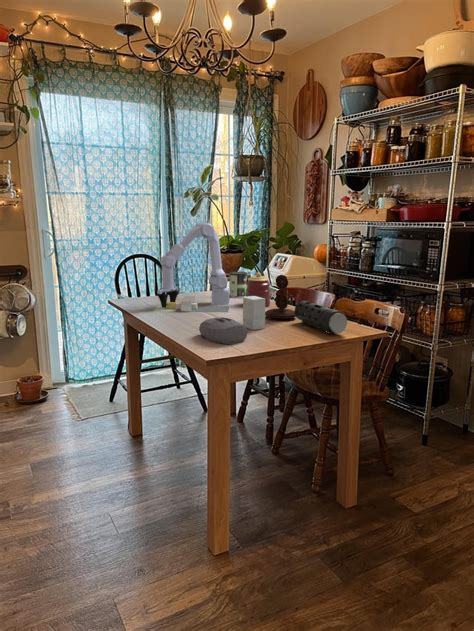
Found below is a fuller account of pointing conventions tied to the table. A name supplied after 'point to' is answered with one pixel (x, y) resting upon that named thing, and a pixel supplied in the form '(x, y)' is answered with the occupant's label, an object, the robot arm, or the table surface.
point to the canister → (259, 287)
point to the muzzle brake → (321, 317)
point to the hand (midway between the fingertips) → (168, 306)
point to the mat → (199, 309)
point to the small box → (254, 312)
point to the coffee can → (238, 284)
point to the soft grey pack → (223, 330)
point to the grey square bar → (187, 303)
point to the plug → (178, 305)
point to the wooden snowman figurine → (281, 301)
